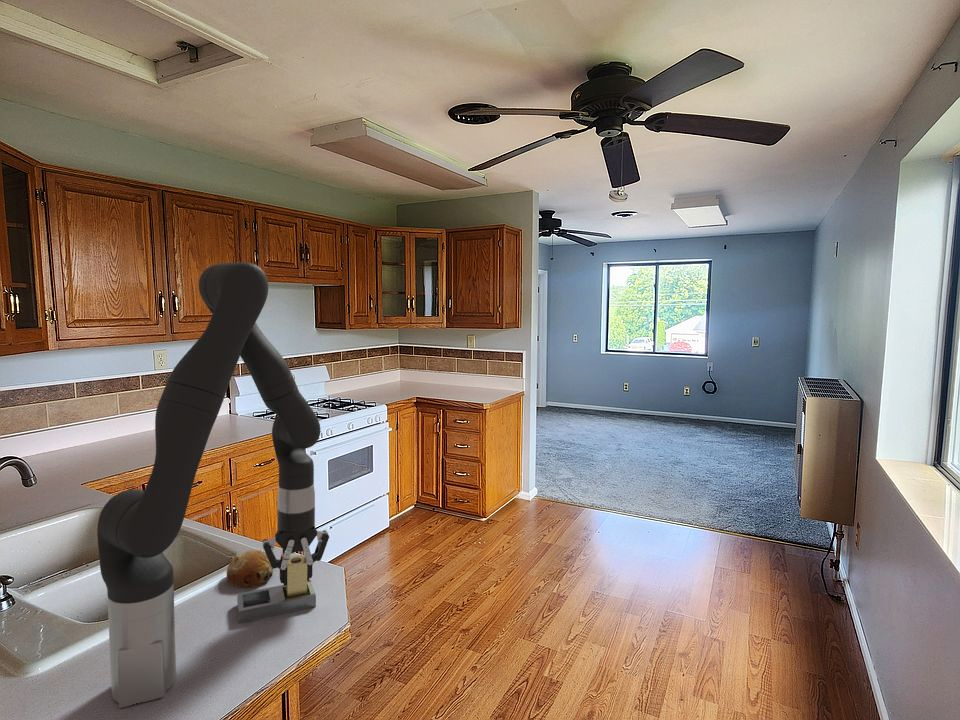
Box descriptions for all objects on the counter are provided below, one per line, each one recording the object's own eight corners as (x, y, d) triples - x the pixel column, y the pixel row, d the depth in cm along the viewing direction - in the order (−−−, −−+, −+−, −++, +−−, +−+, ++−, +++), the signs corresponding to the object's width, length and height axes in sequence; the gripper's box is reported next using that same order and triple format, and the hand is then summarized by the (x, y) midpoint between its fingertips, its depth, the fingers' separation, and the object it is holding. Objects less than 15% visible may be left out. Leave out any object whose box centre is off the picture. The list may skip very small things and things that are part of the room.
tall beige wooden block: (307, 598, 116) (307, 562, 115) (287, 602, 114) (287, 565, 113) (304, 589, 119) (304, 554, 118) (285, 592, 117) (285, 557, 117)
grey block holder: (315, 606, 115) (315, 595, 115) (239, 623, 109) (238, 611, 108) (310, 590, 121) (310, 579, 121) (237, 604, 115) (237, 593, 114)
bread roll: (264, 579, 132) (257, 546, 134) (285, 575, 126) (277, 541, 127) (224, 595, 125) (216, 560, 126) (244, 592, 118) (236, 555, 120)
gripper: (261, 516, 108) (262, 597, 110) (334, 506, 114) (333, 583, 116) (258, 503, 114) (259, 579, 116) (327, 494, 121) (326, 567, 123)
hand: (296, 581), depth 116 cm, fingers closed on tall beige wooden block, 4 cm apart
